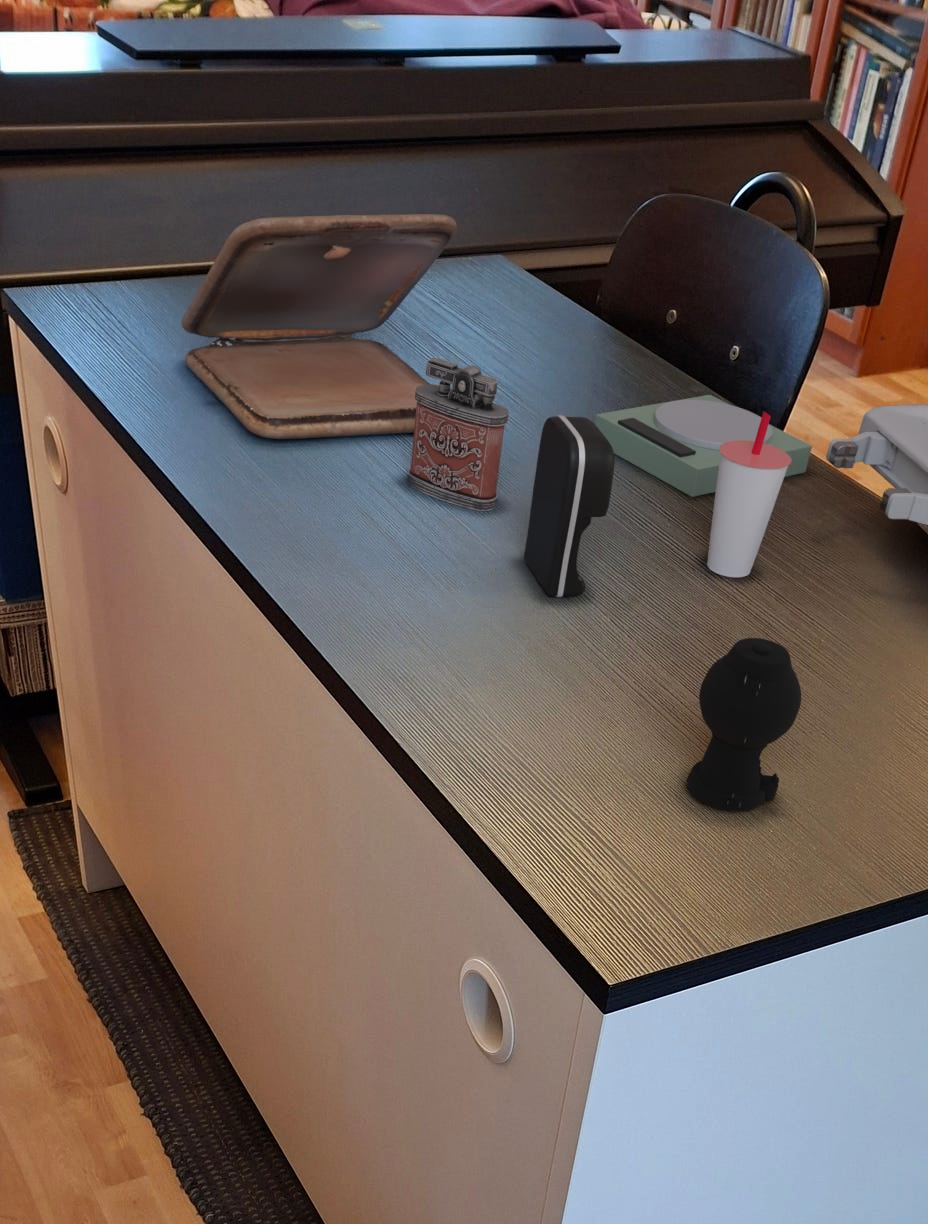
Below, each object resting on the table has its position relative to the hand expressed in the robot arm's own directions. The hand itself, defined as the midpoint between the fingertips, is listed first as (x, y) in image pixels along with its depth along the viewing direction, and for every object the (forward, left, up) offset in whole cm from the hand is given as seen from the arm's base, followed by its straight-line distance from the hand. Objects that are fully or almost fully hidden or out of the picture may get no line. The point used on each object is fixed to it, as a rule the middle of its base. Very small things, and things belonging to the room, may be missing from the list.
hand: (857, 477), depth 121 cm
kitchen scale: (-5, -21, -7) cm, 23 cm away
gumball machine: (+33, +21, -7) cm, 39 cm away
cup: (+9, -3, -7) cm, 12 cm away
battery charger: (+23, -7, -7) cm, 25 cm away
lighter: (+21, -23, -7) cm, 32 cm away
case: (+19, -45, -7) cm, 49 cm away
